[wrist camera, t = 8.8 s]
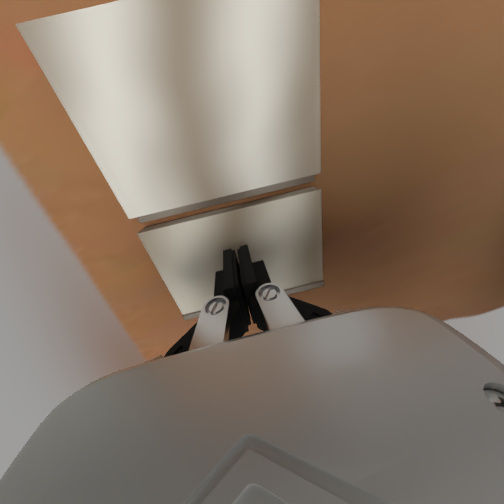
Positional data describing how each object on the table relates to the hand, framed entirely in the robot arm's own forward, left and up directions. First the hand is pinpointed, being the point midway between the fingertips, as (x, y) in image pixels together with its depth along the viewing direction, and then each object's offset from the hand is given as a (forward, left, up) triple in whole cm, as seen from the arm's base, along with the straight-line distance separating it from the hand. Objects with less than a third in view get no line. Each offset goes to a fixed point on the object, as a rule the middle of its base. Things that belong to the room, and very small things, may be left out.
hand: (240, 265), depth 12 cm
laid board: (0, -8, -2) cm, 9 cm away
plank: (0, 0, -2) cm, 2 cm away
